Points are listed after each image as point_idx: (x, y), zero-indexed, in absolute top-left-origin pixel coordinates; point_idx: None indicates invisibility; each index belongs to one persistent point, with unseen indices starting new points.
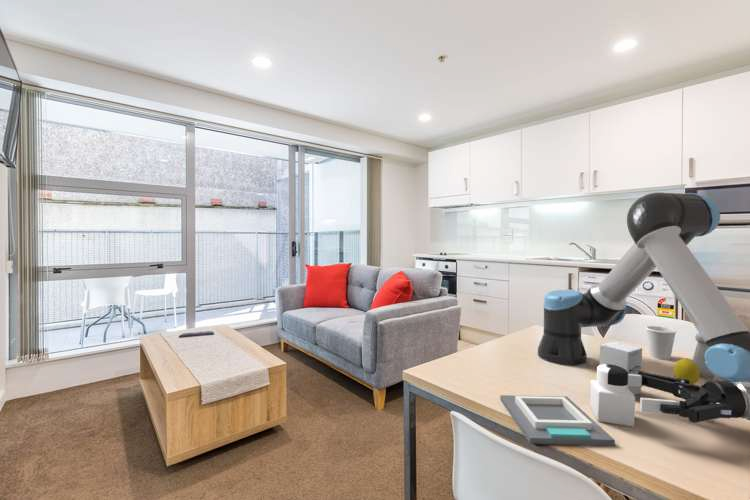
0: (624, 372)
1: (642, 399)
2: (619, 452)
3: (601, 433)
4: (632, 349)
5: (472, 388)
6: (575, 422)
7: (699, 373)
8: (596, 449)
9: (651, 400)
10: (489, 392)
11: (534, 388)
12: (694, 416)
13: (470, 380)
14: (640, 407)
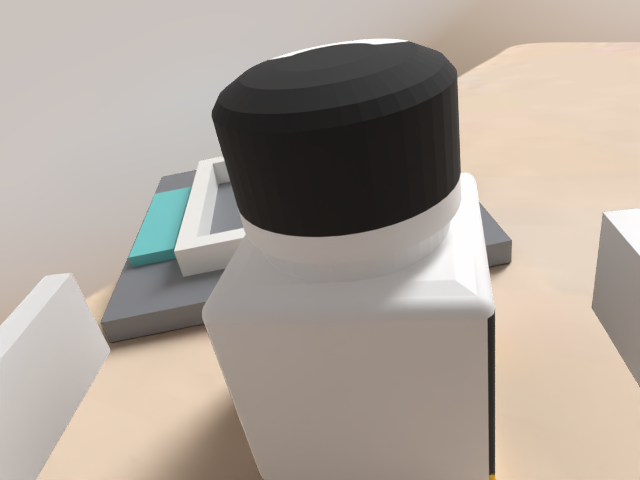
0: (232, 103)
1: (44, 278)
2: None
3: (153, 296)
4: None
5: (475, 104)
6: (184, 218)
7: None
8: (105, 293)
9: (9, 323)
10: (464, 124)
11: (599, 186)
12: None
13: (541, 94)
14: (94, 333)
